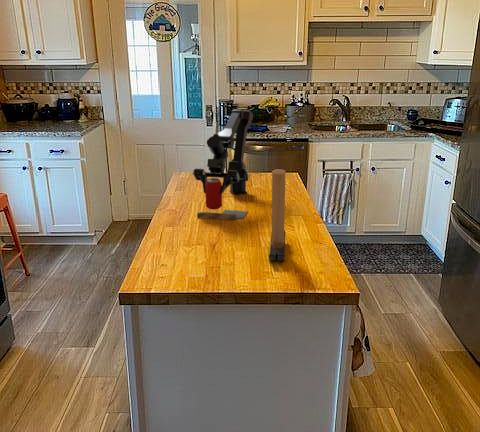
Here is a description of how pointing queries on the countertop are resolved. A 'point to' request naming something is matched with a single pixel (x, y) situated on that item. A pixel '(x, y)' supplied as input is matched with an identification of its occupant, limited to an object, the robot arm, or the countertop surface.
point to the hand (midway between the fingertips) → (212, 193)
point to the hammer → (278, 216)
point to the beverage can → (213, 193)
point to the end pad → (238, 213)
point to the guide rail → (216, 215)
